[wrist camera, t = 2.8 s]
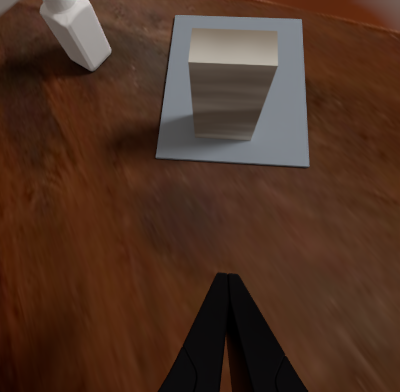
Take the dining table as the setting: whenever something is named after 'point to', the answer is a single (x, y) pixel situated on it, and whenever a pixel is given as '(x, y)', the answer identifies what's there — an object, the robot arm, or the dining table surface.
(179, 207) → the dining table surface
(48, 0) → the pepper shaker
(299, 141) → the mat
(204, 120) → the beige streaked block
